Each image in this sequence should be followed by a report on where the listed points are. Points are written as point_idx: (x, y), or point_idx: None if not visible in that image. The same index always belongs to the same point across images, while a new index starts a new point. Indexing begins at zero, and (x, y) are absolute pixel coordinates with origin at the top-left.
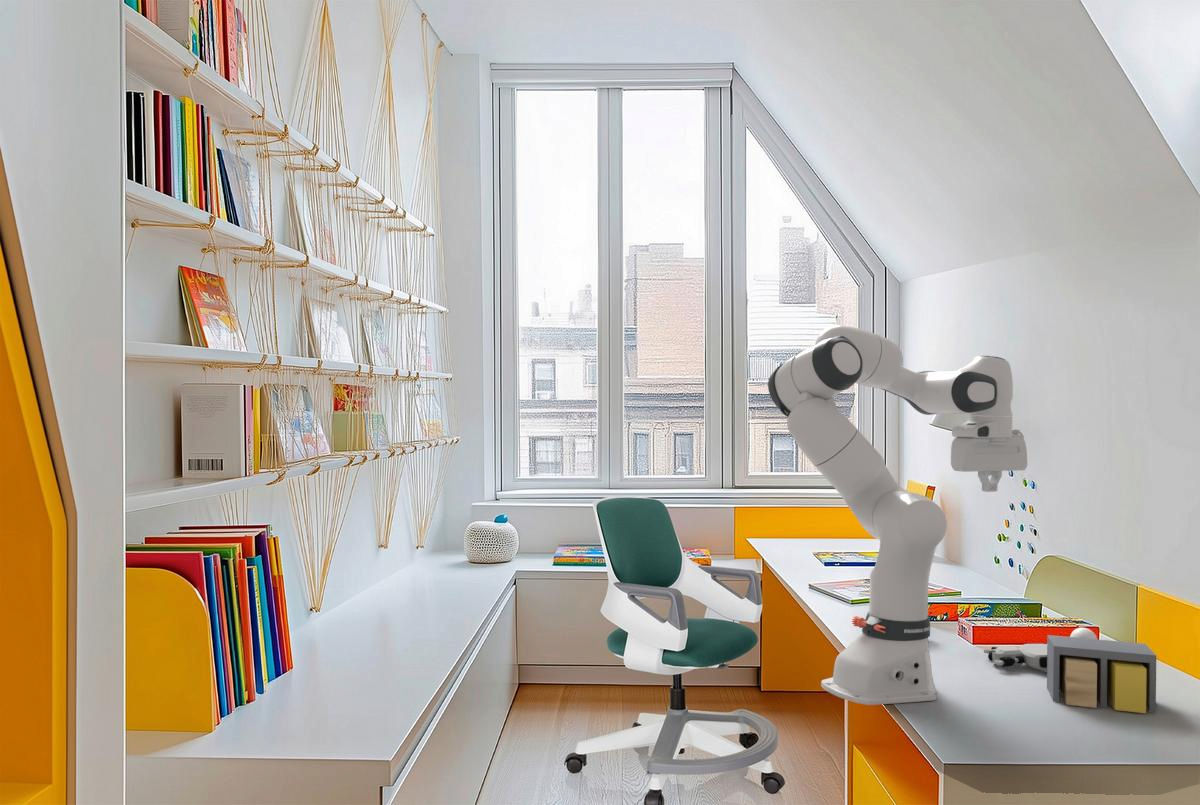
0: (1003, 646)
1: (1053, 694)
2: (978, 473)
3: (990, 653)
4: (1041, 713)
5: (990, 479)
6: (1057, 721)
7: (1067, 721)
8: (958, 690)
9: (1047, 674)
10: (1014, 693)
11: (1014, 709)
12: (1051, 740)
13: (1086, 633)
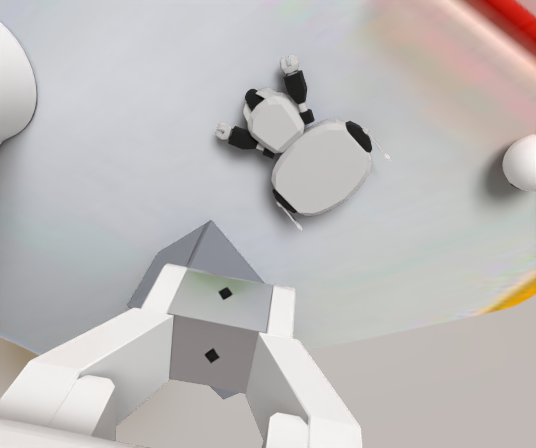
0: (282, 111)
1: (155, 258)
2: (8, 397)
3: (246, 98)
4: (99, 264)
5: (275, 370)
6: (92, 286)
7: (104, 292)
8: (65, 146)
9: (201, 234)
10: (139, 204)
11: (77, 238)
12: (32, 306)
13: (525, 183)
